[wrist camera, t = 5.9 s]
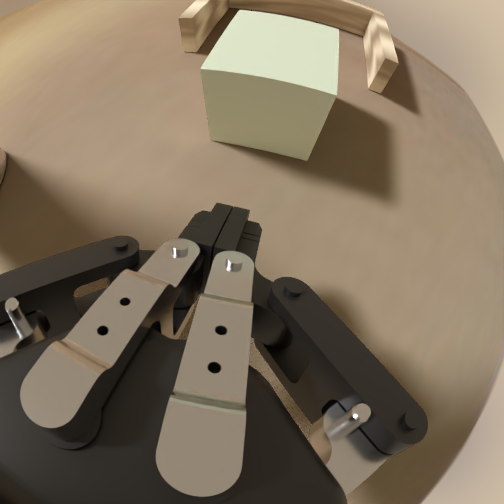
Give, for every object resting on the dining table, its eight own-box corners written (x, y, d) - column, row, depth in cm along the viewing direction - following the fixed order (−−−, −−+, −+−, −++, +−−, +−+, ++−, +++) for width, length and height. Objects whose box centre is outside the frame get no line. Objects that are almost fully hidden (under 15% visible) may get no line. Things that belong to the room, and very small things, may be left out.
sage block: (306, 161, 21) (336, 95, 13) (210, 140, 21) (200, 68, 13) (317, 90, 23) (338, 29, 15) (238, 73, 23) (239, 9, 15)
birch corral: (380, 93, 23) (398, 63, 18) (184, 51, 23) (178, 18, 18) (371, 35, 26) (382, 12, 21) (222, 3, 26) (222, -22, 21)
